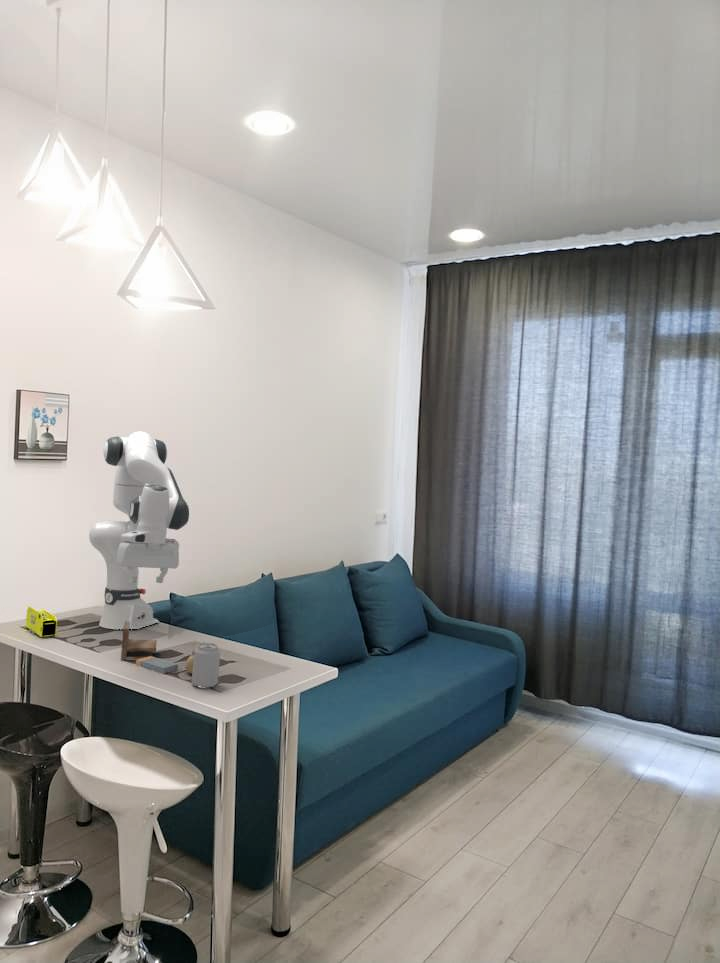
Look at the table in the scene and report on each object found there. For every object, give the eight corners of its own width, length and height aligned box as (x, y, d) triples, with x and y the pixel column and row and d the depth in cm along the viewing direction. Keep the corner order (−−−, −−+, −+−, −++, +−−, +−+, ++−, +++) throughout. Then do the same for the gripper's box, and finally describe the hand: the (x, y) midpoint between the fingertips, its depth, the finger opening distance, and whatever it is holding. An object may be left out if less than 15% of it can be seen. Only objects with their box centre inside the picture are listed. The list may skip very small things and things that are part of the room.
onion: (210, 670, 234) (211, 647, 233) (212, 677, 226) (214, 654, 226) (183, 670, 231) (185, 647, 231) (185, 678, 224) (187, 654, 223)
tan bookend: (155, 651, 249) (158, 622, 248) (155, 660, 239) (157, 629, 238) (122, 651, 246) (125, 621, 246) (120, 660, 236) (123, 628, 236)
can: (191, 689, 214) (194, 647, 213) (191, 681, 221) (194, 641, 221) (217, 689, 215) (221, 648, 215) (217, 681, 223) (220, 641, 222)
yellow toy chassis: (24, 628, 264) (25, 605, 264) (40, 627, 268) (42, 604, 268) (39, 639, 252) (41, 614, 252) (56, 637, 256) (58, 613, 256)
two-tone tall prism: (177, 670, 231) (178, 664, 231) (163, 674, 226) (164, 668, 226) (150, 662, 237) (150, 656, 237) (135, 666, 232) (136, 659, 232)
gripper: (173, 538, 240) (169, 582, 239) (116, 534, 225) (111, 581, 224) (185, 540, 236) (180, 584, 235) (127, 536, 221) (122, 583, 220)
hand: (146, 582), depth 229 cm, fingers open, 8 cm apart
